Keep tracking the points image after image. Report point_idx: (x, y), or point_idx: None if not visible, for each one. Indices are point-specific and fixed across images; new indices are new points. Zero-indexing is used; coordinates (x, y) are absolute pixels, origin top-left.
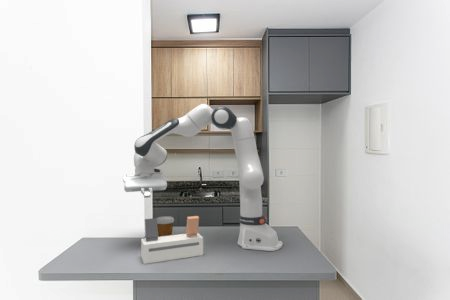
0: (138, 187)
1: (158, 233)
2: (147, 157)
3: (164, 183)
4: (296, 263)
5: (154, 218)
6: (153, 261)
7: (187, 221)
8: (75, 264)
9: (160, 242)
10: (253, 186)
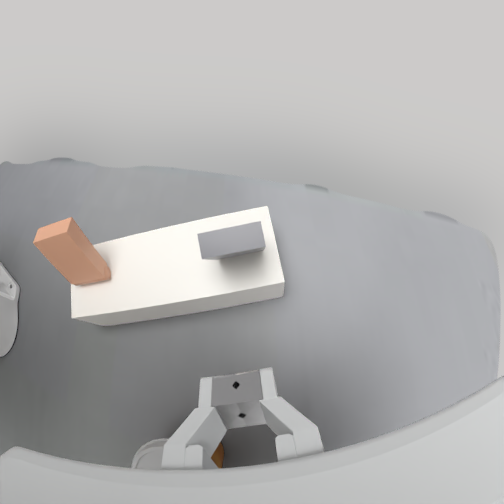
0: (370, 439)
1: (219, 453)
2: None
3: (8, 466)
4: (4, 192)
5: (210, 231)
6: None
7: (78, 236)
8: (453, 269)
9: (207, 220)
10: None
